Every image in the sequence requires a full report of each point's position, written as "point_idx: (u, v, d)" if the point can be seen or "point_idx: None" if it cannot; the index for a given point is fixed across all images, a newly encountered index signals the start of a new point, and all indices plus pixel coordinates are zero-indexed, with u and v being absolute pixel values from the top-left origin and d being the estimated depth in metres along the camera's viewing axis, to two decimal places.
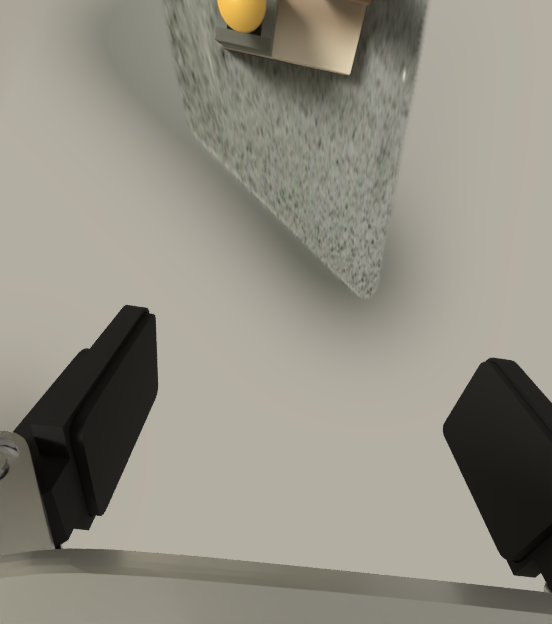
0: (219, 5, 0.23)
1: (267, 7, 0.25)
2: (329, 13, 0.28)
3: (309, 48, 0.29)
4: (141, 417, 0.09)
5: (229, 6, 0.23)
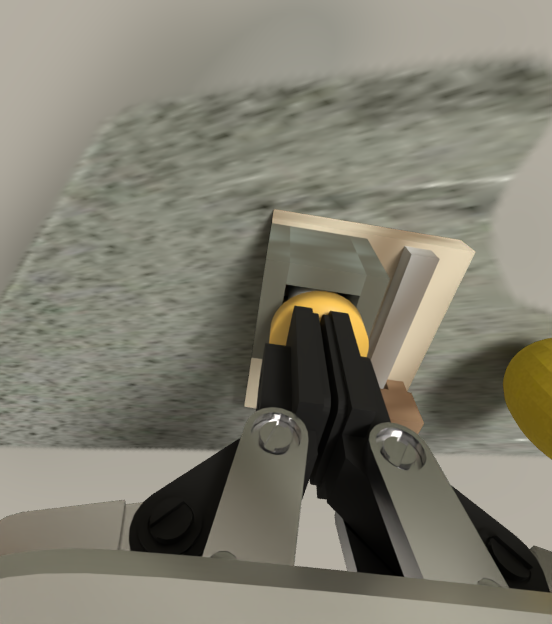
0: None
1: None
2: None
3: None
4: None
5: None
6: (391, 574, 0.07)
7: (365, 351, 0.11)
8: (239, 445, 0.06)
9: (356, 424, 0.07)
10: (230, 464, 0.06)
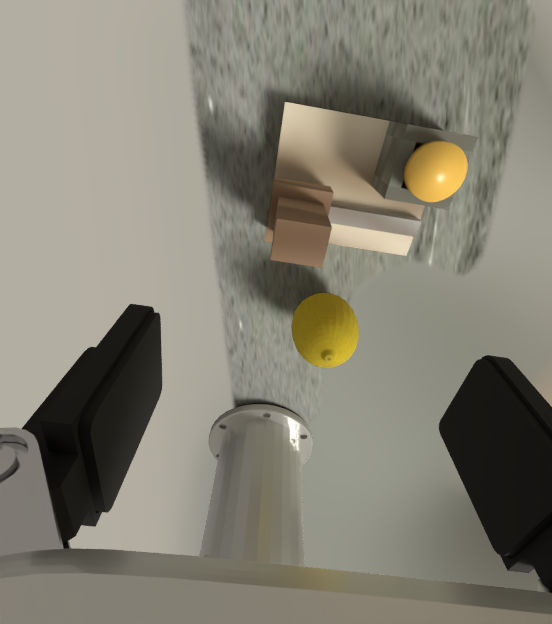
0: (465, 167, 0.19)
1: (402, 172, 0.21)
2: (315, 168, 0.25)
3: (339, 132, 0.23)
4: (146, 415, 0.09)
5: (453, 167, 0.19)
6: None
7: (430, 200, 0.20)
8: None
9: None
10: None
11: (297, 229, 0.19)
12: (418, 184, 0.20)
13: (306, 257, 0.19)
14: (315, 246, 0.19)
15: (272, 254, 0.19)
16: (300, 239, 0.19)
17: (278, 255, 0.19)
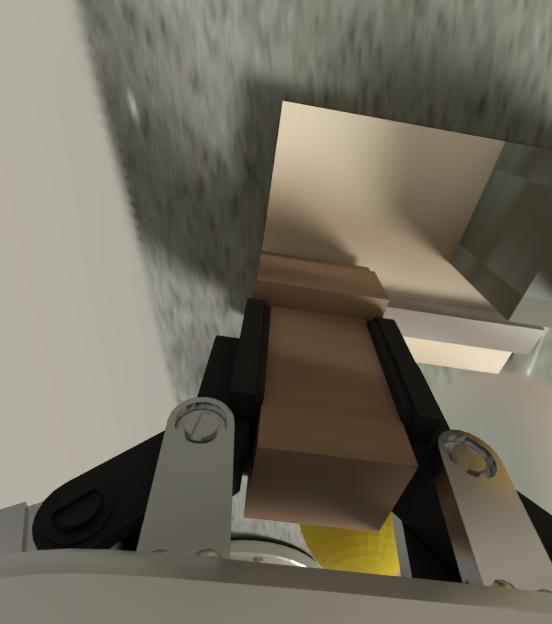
0: None
1: None
2: (343, 233, 0.12)
3: (396, 164, 0.11)
4: None
5: None
6: (445, 579, 0.07)
7: None
8: (163, 442, 0.06)
9: (421, 431, 0.07)
10: (157, 463, 0.06)
11: (317, 468, 0.06)
12: None
13: (339, 515, 0.07)
14: (366, 498, 0.07)
15: (248, 509, 0.07)
16: (323, 485, 0.07)
17: (265, 510, 0.07)
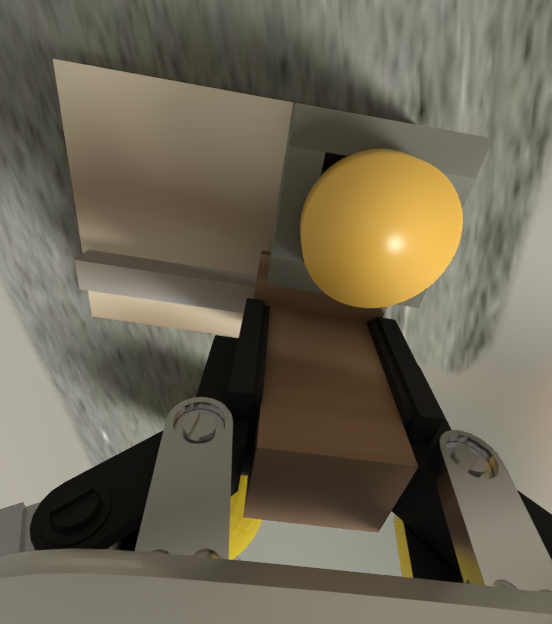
0: (458, 226, 0.07)
1: None
2: (155, 202, 0.12)
3: (188, 127, 0.11)
4: None
5: (424, 224, 0.07)
6: (446, 580, 0.07)
7: (367, 304, 0.08)
8: (162, 442, 0.06)
9: (422, 431, 0.07)
10: (156, 463, 0.06)
11: (317, 468, 0.06)
12: (330, 267, 0.07)
13: (338, 515, 0.07)
14: (366, 498, 0.07)
15: (248, 509, 0.07)
16: (324, 485, 0.07)
17: (264, 511, 0.07)
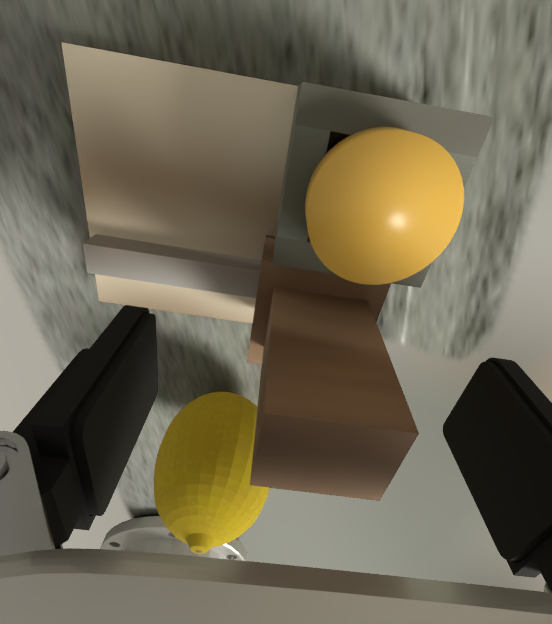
0: (459, 203, 0.07)
1: None
2: (162, 187, 0.12)
3: (194, 111, 0.11)
4: (141, 417, 0.09)
5: (426, 200, 0.07)
6: None
7: (370, 281, 0.08)
8: None
9: None
10: None
11: (321, 435, 0.07)
12: (334, 243, 0.08)
13: (341, 483, 0.08)
14: (368, 466, 0.07)
15: (254, 476, 0.07)
16: (327, 452, 0.07)
17: (270, 478, 0.08)
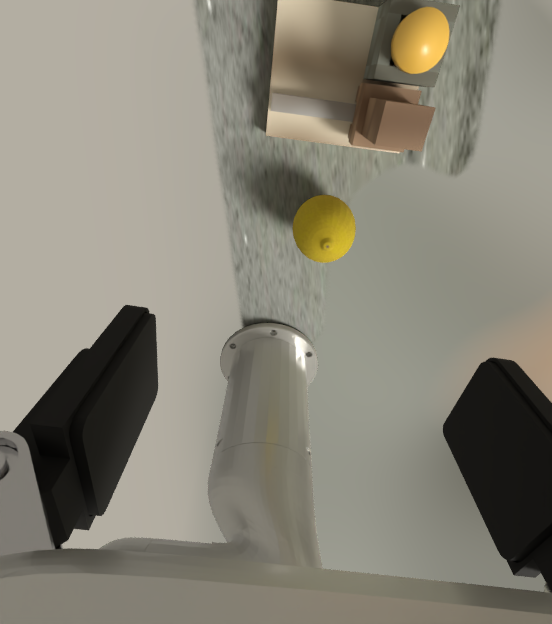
0: (447, 34, 0.21)
1: (389, 48, 0.22)
2: (310, 63, 0.26)
3: (331, 22, 0.25)
4: (141, 417, 0.09)
5: (436, 33, 0.21)
6: None
7: (416, 72, 0.22)
8: None
9: None
10: None
11: (403, 111, 0.21)
12: (404, 54, 0.21)
13: (408, 140, 0.21)
14: (418, 128, 0.21)
15: (377, 139, 0.21)
16: (404, 121, 0.21)
17: (383, 139, 0.21)
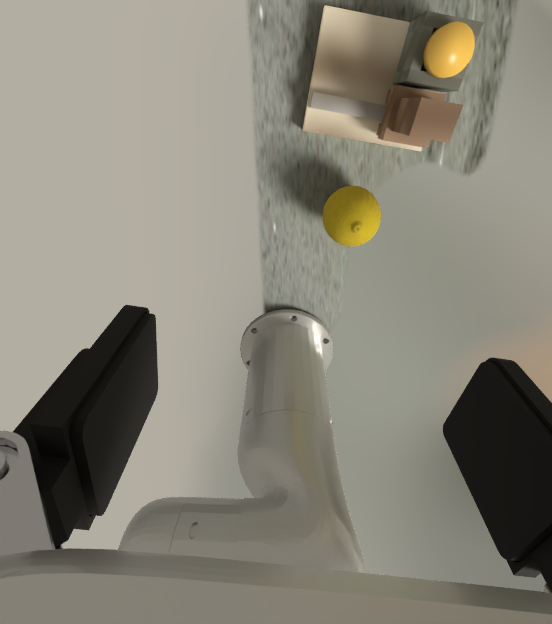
0: (473, 45, 0.24)
1: (421, 56, 0.26)
2: (347, 67, 0.30)
3: (368, 33, 0.28)
4: (141, 417, 0.09)
5: (464, 44, 0.24)
6: None
7: (444, 76, 0.25)
8: None
9: None
10: None
11: (435, 107, 0.24)
12: (435, 60, 0.25)
13: (438, 133, 0.25)
14: (447, 122, 0.24)
15: (411, 130, 0.25)
16: (436, 116, 0.24)
17: (416, 131, 0.25)
